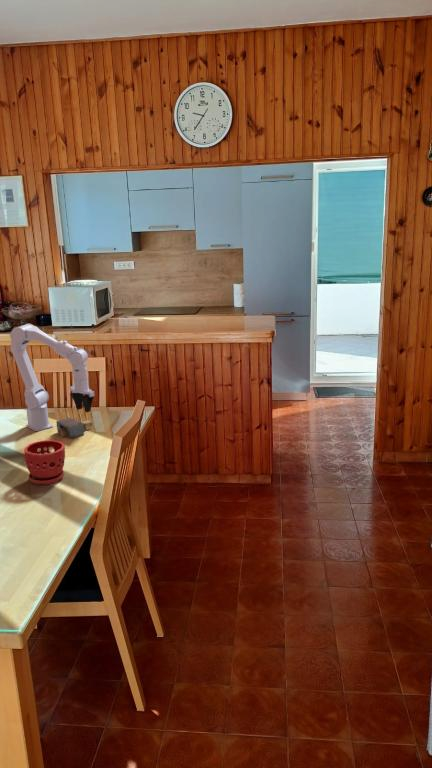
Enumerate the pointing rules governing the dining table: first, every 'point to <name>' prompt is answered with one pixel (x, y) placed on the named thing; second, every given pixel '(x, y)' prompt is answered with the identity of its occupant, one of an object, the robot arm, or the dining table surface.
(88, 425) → the capped rod
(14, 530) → the dining table surface
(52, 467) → the plant pot
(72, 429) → the sleeve housing
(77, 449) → the dining table surface
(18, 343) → the robot arm
